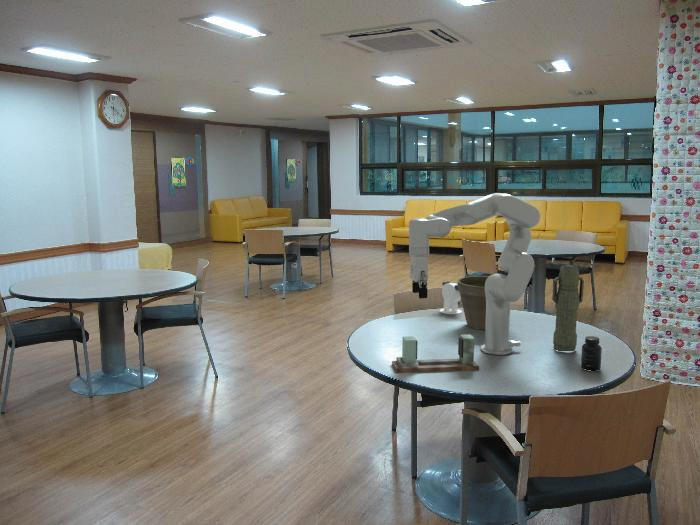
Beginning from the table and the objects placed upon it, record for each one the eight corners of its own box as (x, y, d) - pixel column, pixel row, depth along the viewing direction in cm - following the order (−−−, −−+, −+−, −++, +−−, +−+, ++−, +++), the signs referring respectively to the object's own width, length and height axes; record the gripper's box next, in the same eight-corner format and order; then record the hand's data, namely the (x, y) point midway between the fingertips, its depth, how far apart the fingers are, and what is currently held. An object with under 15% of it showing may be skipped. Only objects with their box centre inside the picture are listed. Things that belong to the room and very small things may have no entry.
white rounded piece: (467, 312, 304) (468, 284, 301) (450, 315, 298) (451, 286, 295) (451, 307, 314) (452, 280, 311) (435, 310, 308) (435, 282, 306)
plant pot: (501, 336, 261) (503, 288, 258) (448, 328, 274) (449, 282, 270) (516, 323, 283) (518, 279, 279) (466, 317, 295) (467, 274, 292)
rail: (471, 361, 227) (472, 332, 225) (479, 369, 218) (480, 339, 217) (391, 364, 224) (392, 335, 222) (396, 372, 215) (396, 342, 213)
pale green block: (414, 361, 223) (414, 336, 221) (417, 366, 218) (417, 340, 216) (402, 362, 222) (402, 336, 220) (404, 366, 217) (405, 340, 216)
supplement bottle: (584, 364, 224) (586, 334, 222) (602, 368, 220) (605, 337, 218) (578, 369, 219) (580, 338, 217) (597, 373, 215) (599, 341, 213)
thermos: (545, 347, 246) (550, 264, 240) (572, 346, 247) (577, 263, 242) (555, 353, 237) (560, 267, 232) (583, 352, 239) (589, 267, 233)
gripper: (404, 248, 232) (404, 291, 235) (415, 255, 215) (415, 301, 218) (422, 247, 233) (423, 290, 236) (435, 254, 216) (435, 299, 219)
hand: (419, 295), depth 227 cm, fingers open, 9 cm apart
